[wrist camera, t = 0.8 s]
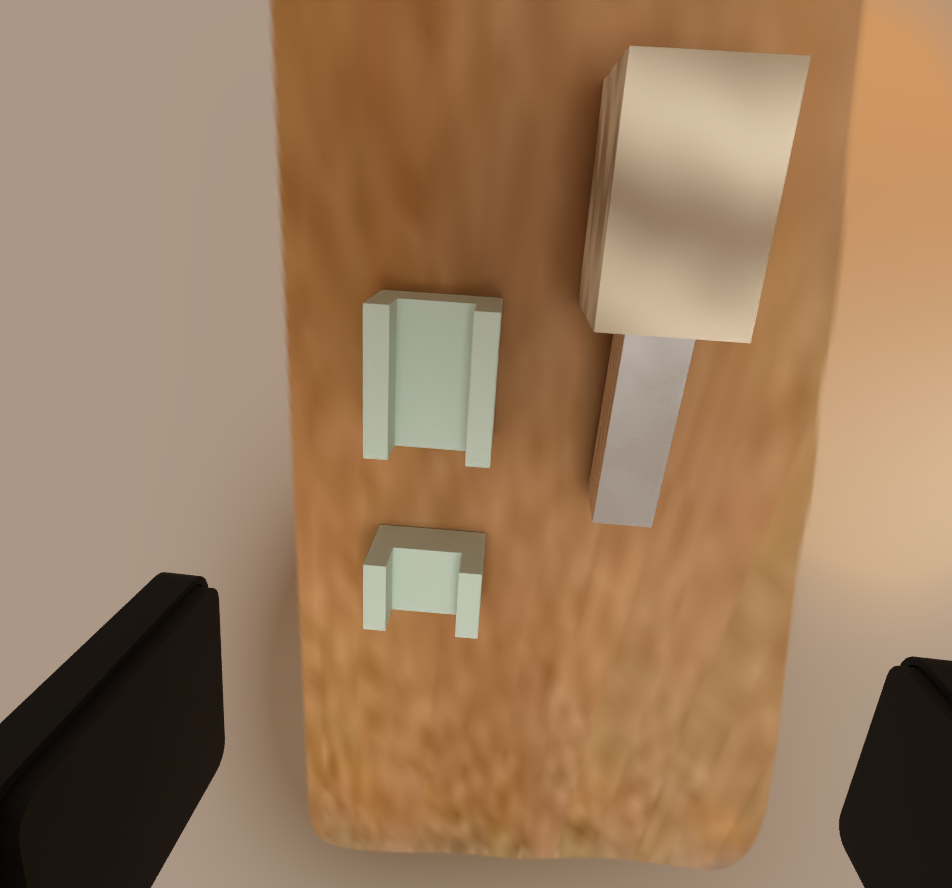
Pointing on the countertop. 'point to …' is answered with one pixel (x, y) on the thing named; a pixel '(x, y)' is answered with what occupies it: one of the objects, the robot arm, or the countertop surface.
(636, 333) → the block
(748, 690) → the countertop surface
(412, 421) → the cradle
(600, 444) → the axle
